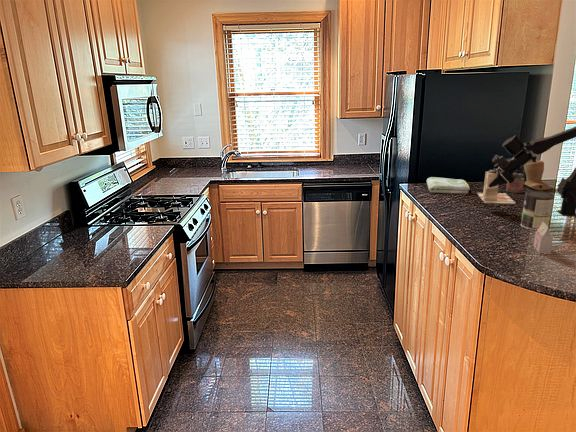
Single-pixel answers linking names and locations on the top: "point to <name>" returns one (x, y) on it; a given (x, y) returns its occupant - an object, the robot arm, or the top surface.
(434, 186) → the towel
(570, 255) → the top surface
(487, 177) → the pepper mill
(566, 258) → the top surface
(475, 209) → the top surface
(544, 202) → the coffee can
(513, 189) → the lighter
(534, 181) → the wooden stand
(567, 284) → the top surface
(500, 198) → the card
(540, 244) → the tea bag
